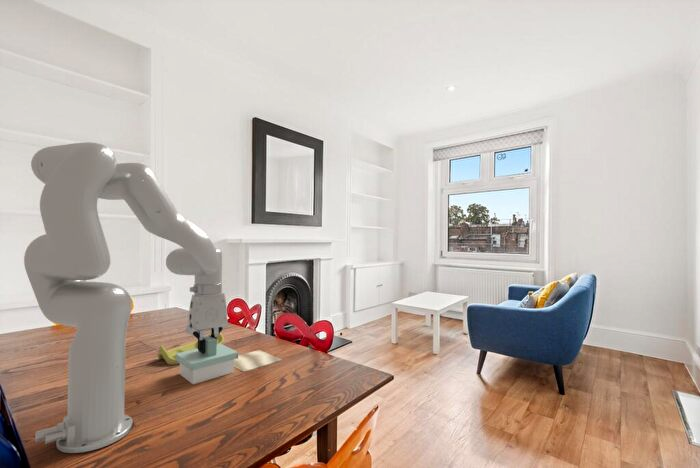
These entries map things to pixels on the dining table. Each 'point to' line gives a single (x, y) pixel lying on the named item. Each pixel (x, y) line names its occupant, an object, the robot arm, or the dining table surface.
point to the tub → (207, 372)
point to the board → (254, 360)
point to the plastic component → (181, 350)
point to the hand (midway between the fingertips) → (207, 350)
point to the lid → (206, 355)
